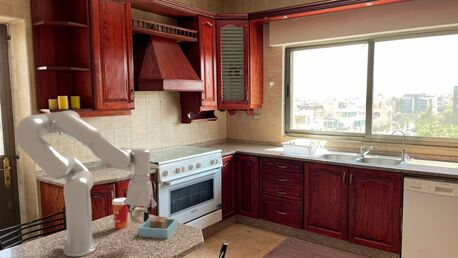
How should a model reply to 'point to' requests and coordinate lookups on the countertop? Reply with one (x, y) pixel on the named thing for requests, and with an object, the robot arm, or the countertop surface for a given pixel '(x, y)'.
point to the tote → (157, 233)
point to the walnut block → (158, 222)
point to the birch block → (138, 215)
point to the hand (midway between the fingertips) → (139, 219)
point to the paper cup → (120, 213)
